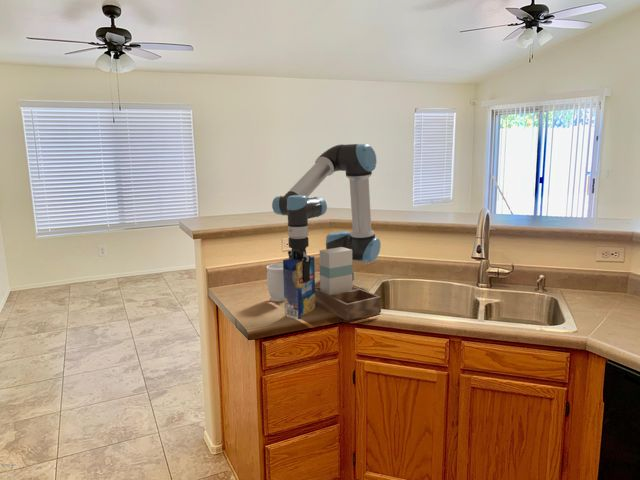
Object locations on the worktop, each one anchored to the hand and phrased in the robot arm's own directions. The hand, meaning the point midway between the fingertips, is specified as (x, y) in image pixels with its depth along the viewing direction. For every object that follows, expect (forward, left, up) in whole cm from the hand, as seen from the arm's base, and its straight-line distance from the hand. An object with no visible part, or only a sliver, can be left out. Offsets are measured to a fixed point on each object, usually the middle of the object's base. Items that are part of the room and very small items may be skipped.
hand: (300, 296), depth 179 cm
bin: (-17, +6, -7) cm, 19 cm away
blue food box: (0, 0, -7) cm, 7 cm away
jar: (-1, -19, -7) cm, 20 cm away
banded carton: (-17, 0, -6) cm, 18 cm away
